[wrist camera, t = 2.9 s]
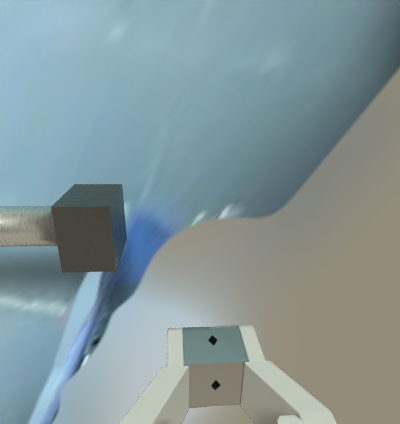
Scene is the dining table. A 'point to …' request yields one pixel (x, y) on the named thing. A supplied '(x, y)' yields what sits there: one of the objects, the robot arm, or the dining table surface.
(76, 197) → the shaft
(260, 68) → the dining table surface
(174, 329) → the robot arm
